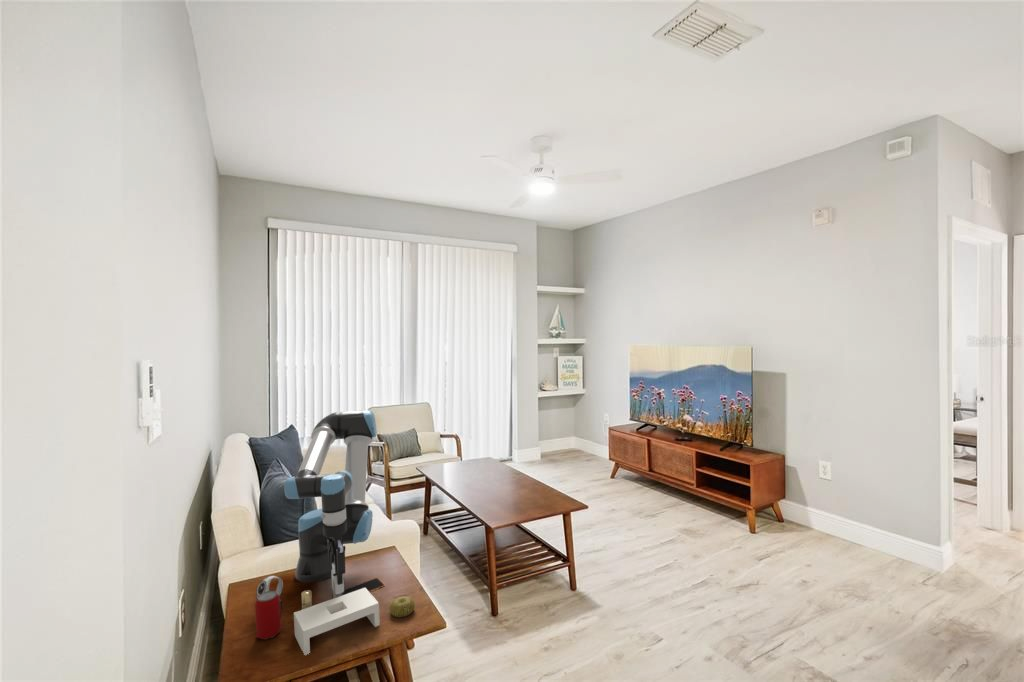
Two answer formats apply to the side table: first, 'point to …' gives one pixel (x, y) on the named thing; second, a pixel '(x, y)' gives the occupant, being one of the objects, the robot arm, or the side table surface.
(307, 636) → the white bench
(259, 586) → the watch
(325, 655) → the side table surface
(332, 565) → the tall steel pin
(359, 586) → the smartphone
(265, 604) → the beverage can
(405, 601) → the sculpture
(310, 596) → the short brass pin
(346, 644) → the side table surface
